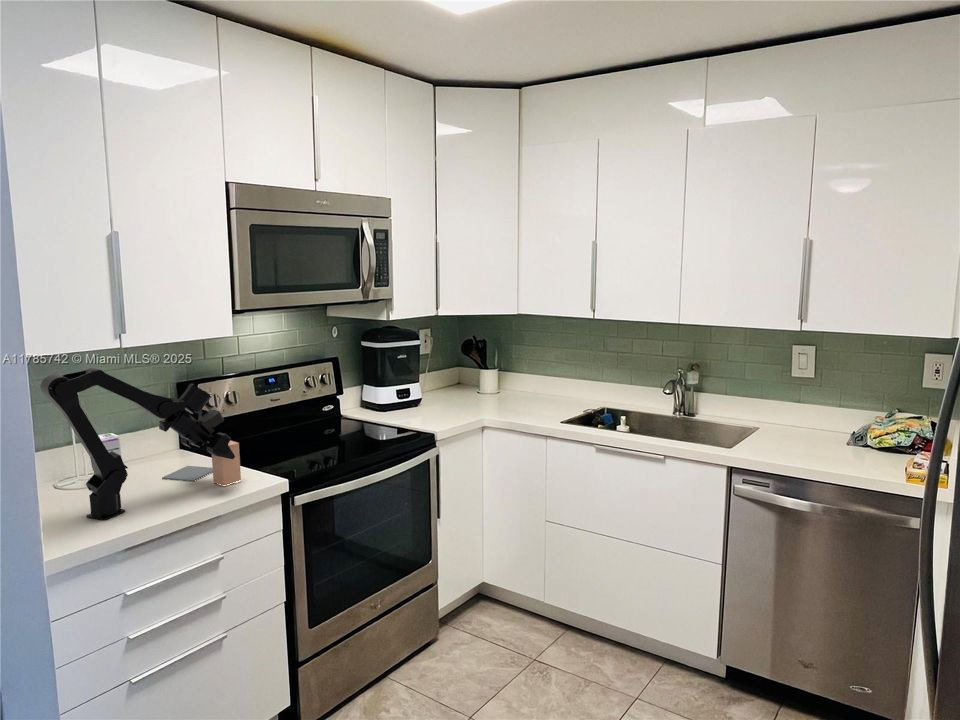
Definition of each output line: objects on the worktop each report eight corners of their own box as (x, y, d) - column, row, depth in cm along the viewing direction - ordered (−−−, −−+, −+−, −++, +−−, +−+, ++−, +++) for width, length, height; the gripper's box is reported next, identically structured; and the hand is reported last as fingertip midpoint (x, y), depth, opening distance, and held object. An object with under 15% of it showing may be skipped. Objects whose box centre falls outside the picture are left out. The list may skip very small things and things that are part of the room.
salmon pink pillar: (223, 487, 195) (221, 447, 193) (213, 483, 198) (211, 443, 197) (241, 482, 199) (238, 443, 198) (230, 478, 203) (228, 439, 201)
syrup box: (124, 482, 199) (120, 435, 197) (103, 487, 195) (98, 439, 192) (117, 478, 203) (113, 432, 201) (96, 483, 198) (91, 435, 196)
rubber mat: (193, 481, 200) (193, 480, 200) (162, 479, 202) (161, 477, 202) (218, 469, 211) (218, 468, 211) (187, 467, 214) (187, 465, 214)
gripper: (222, 407, 185) (259, 437, 195) (187, 398, 196) (224, 427, 207) (197, 440, 180) (236, 470, 190) (163, 430, 192) (202, 458, 202)
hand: (225, 455), depth 197 cm, fingers open, 9 cm apart
